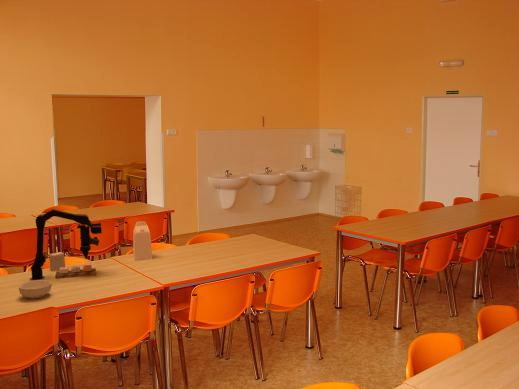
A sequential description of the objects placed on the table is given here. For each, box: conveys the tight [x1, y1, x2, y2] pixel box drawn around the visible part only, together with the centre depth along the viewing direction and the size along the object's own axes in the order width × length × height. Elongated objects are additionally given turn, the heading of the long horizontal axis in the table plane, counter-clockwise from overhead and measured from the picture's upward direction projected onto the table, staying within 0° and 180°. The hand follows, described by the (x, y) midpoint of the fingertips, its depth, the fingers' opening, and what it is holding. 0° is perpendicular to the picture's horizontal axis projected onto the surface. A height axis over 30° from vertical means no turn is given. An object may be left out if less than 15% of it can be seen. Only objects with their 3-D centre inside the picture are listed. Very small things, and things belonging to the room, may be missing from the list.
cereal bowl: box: [18, 279, 52, 300], centre depth 306 cm, size 17×17×7 cm
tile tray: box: [54, 267, 97, 280], centre depth 348 cm, size 24×10×2 cm, turn 105°
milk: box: [132, 221, 153, 261], centre depth 387 cm, size 12×12×26 cm
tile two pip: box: [70, 265, 81, 273], centre depth 348 cm, size 5×5×3 cm
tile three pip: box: [82, 264, 93, 272], centre depth 350 cm, size 5×5×3 cm
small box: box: [48, 251, 66, 272], centre depth 363 cm, size 8×6×10 cm
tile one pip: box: [58, 266, 69, 274], centre depth 346 cm, size 5×5×3 cm
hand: (86, 258), depth 349 cm, fingers closed
